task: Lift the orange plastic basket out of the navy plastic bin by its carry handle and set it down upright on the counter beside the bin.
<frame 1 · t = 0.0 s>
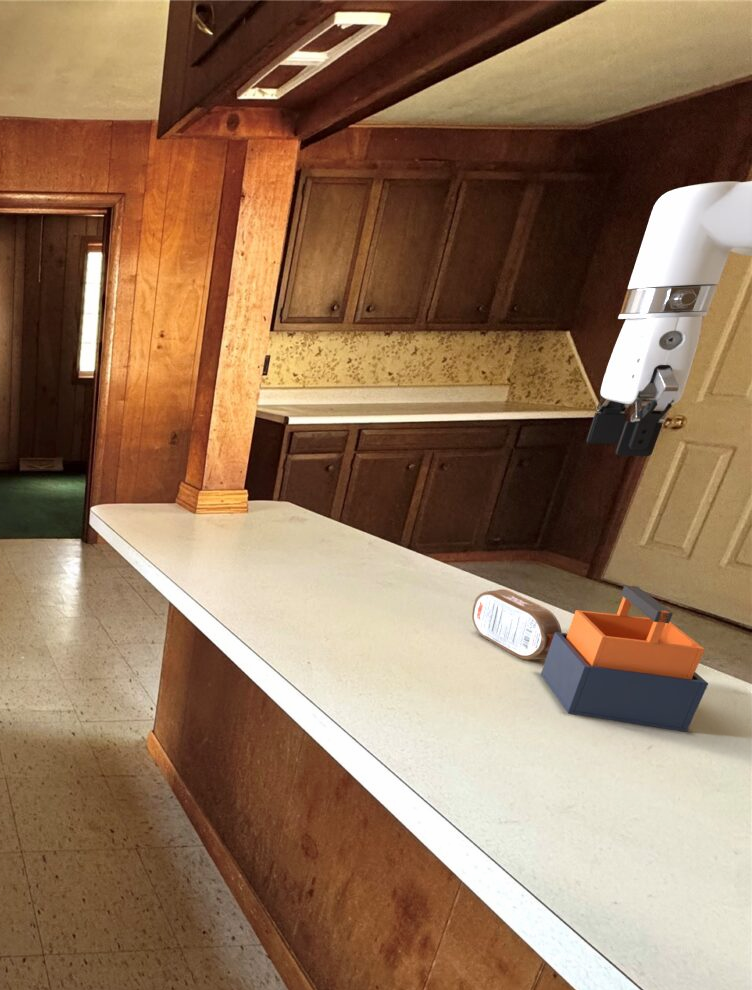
hand: (616, 449, 85), 33 cm above the countertop, tool pointing down, fingers open, 9 cm apart
tin: (505, 648, 106), on the countertop
bin outer: (607, 701, 90), on the countertop
basket: (608, 697, 90), resting on bin outer
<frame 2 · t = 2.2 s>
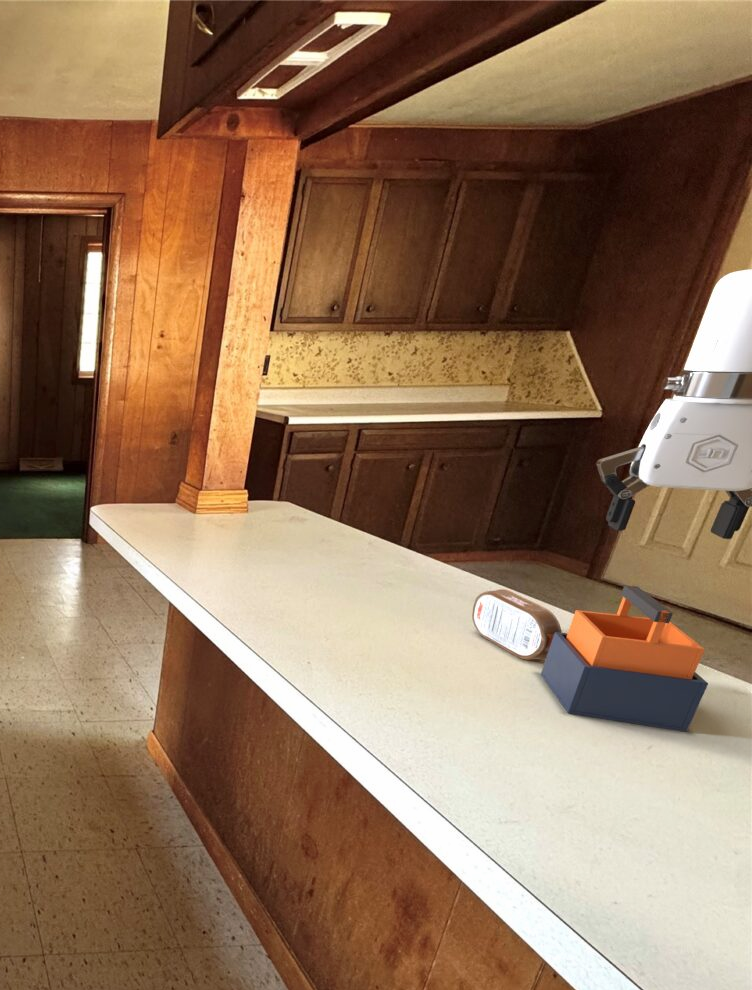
hand: (666, 531, 82), 24 cm above the countertop, tool pointing down, fingers open, 9 cm apart
nothing on the countertop moved.
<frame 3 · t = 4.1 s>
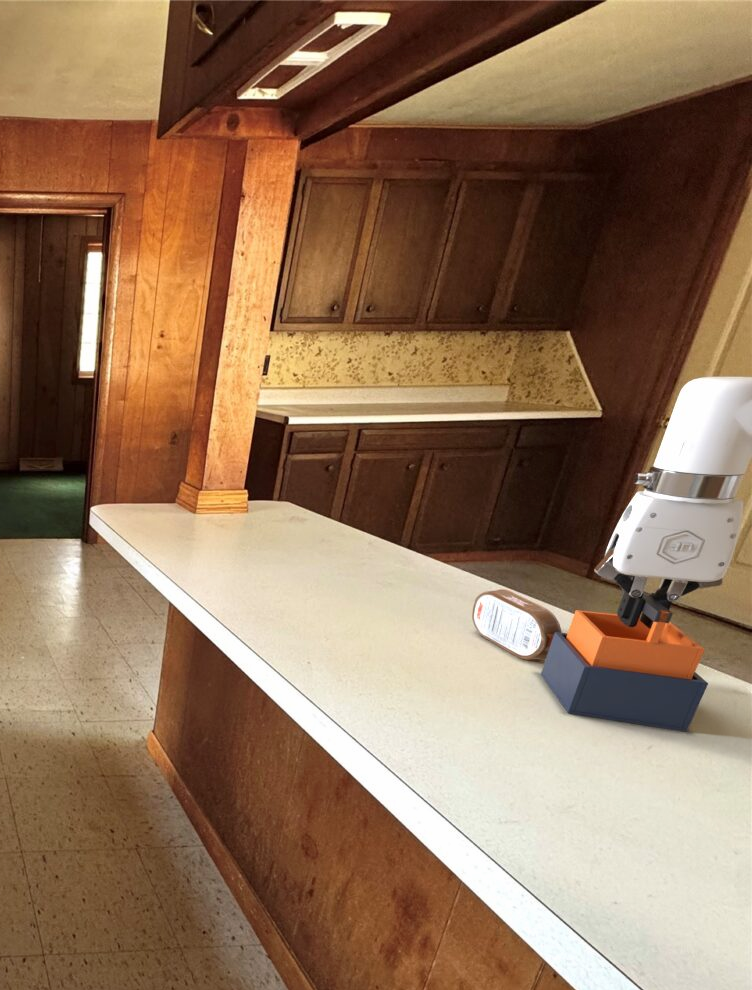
hand: (637, 623, 86), 12 cm above the countertop, tool pointing down, fingers closed on basket
basket: (608, 697, 90), resting on bin outer, touching gripper
everything else where it was.
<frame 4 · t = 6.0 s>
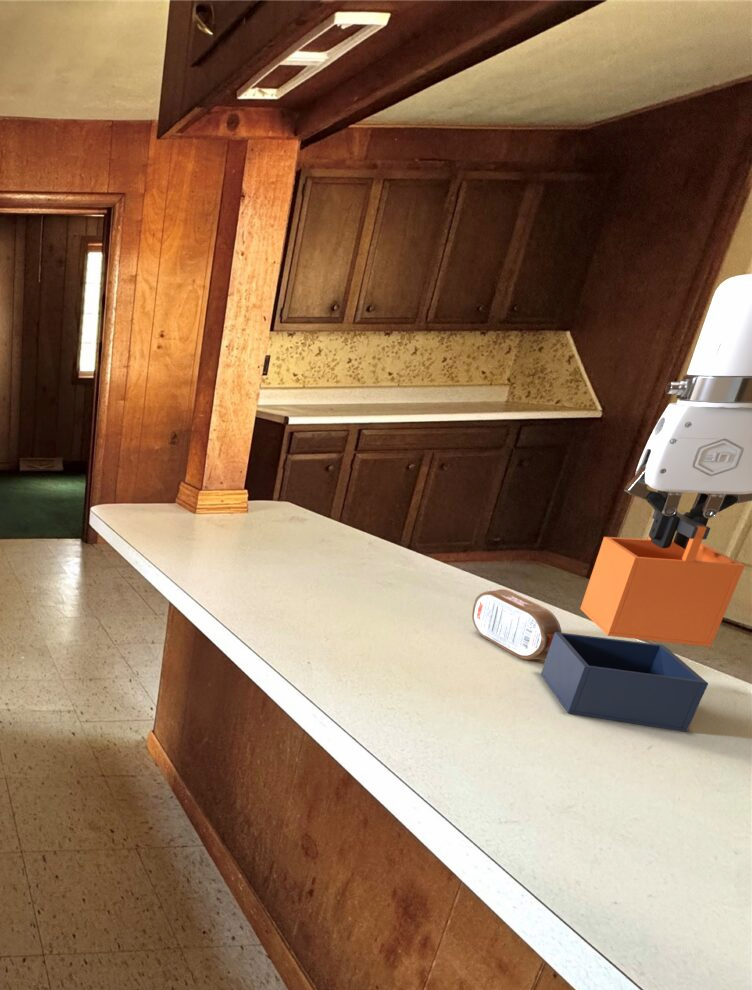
hand: (671, 545, 82), 22 cm above the countertop, tool pointing down, fingers closed on basket
basket: (640, 626, 86), point 11 cm above the countertop, touching gripper
everything else where it was.
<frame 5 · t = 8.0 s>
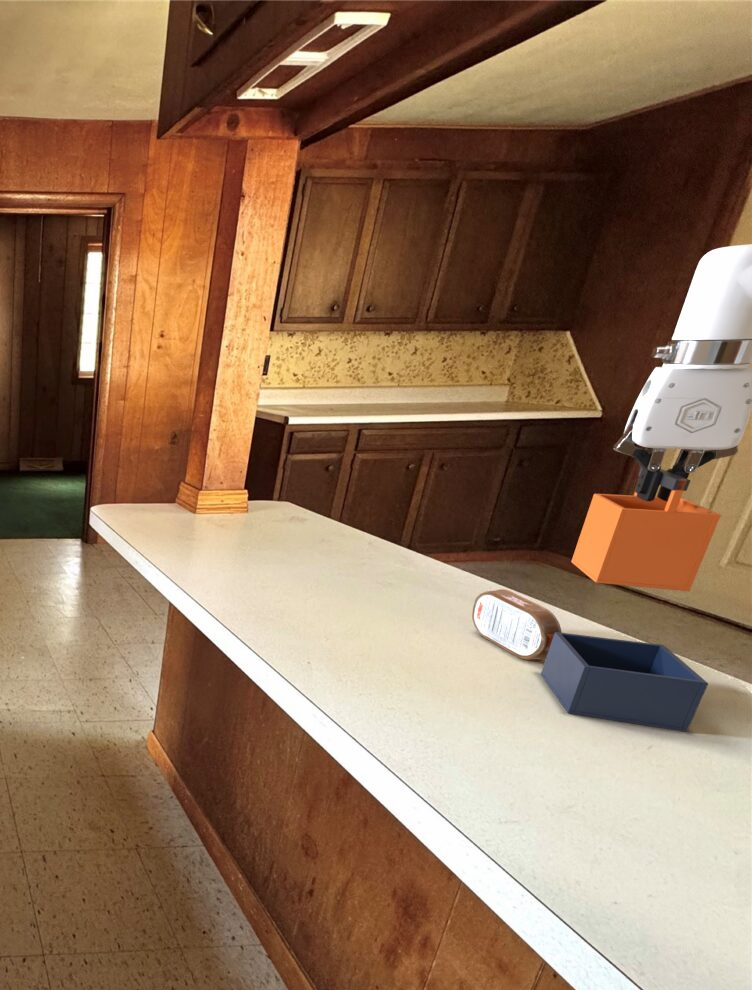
hand: (655, 498, 89), 26 cm above the countertop, tool pointing down, fingers closed on basket
basket: (626, 575, 94), point 15 cm above the countertop, touching gripper
everything else where it was.
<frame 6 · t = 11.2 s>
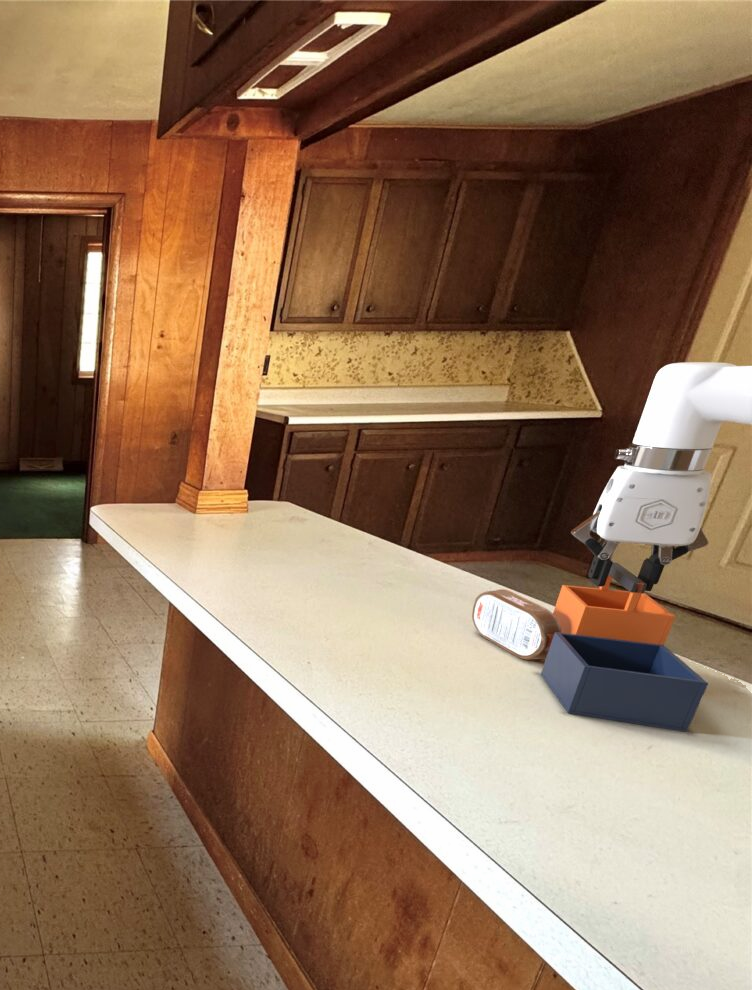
hand: (619, 584, 96), 13 cm above the countertop, tool pointing down, fingers open, 4 cm apart
basket: (592, 663, 100), on the countertop
everything else where it was.
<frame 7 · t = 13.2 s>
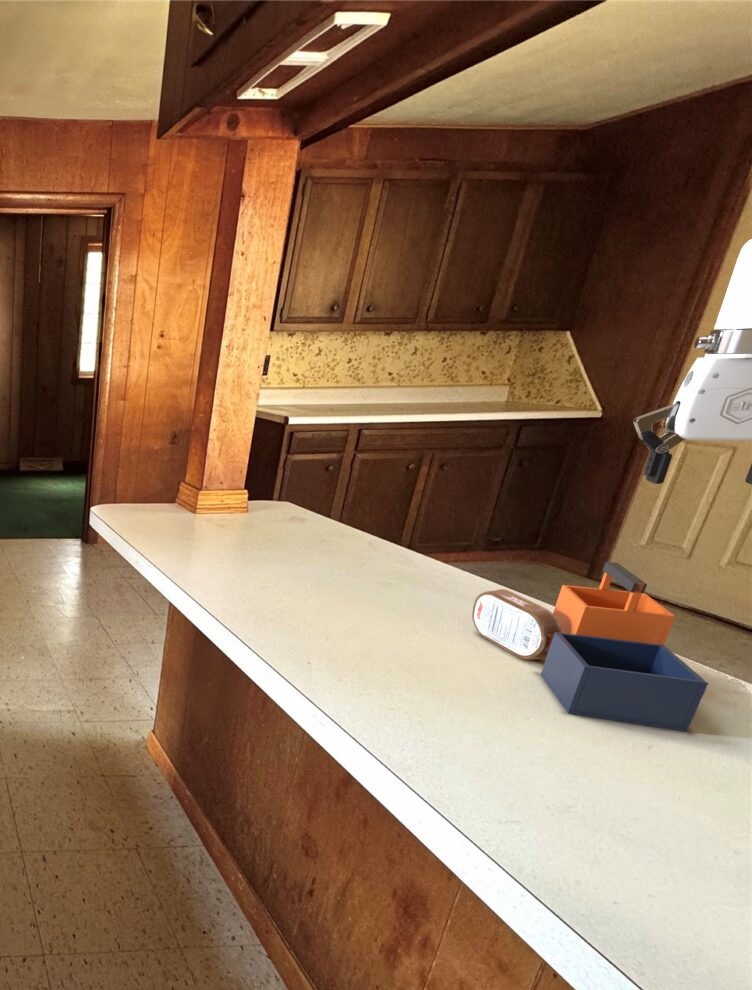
hand: (703, 483, 87), 28 cm above the countertop, tool pointing down, fingers open, 9 cm apart
nothing on the countertop moved.
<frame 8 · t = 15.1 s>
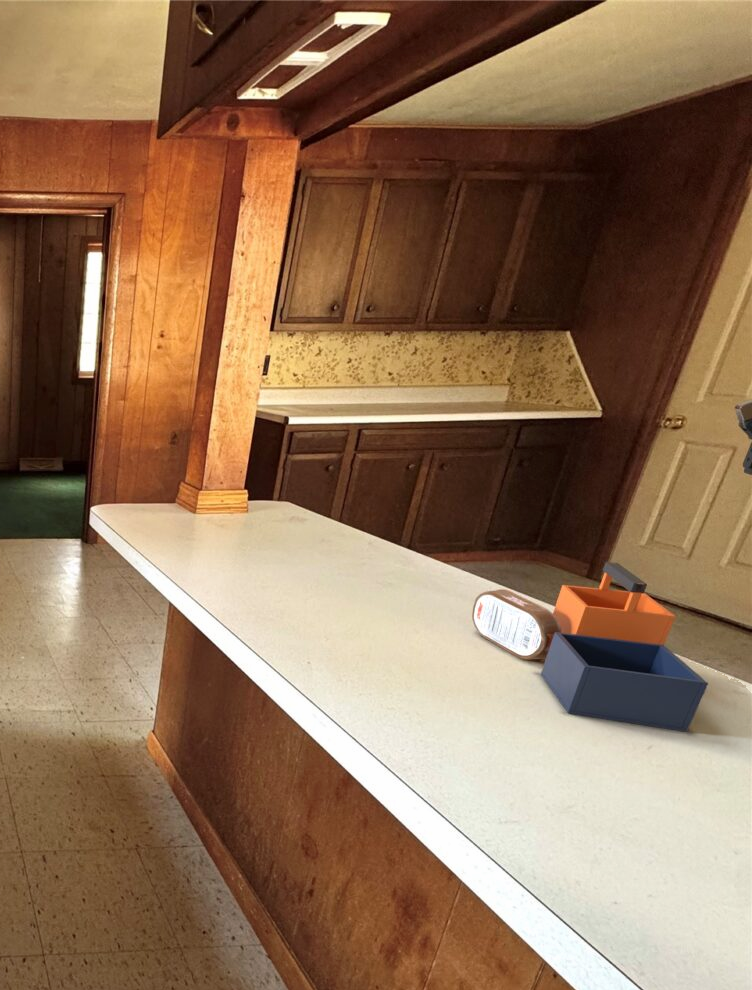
nothing on the countertop moved.
at the end: basket inside the target area (0.1 cm from its centre), on the countertop; basket tilted 0°; basket touching countertop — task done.
